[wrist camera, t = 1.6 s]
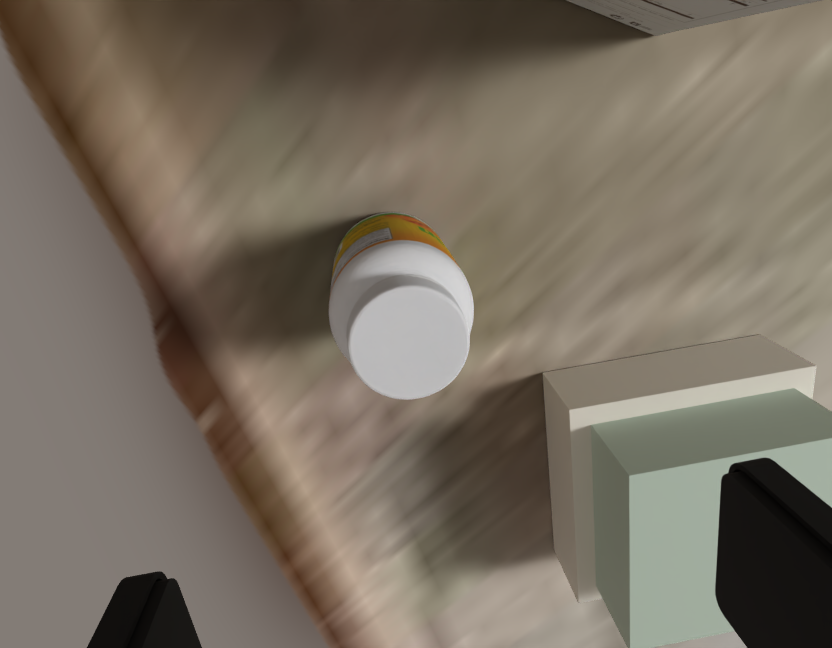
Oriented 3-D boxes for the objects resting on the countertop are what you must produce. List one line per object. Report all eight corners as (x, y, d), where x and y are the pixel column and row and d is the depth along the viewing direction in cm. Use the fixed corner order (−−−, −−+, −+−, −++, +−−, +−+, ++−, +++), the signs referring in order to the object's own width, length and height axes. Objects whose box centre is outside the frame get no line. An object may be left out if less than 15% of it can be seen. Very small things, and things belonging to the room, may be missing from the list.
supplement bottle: (466, 281, 28) (522, 364, 19) (375, 339, 29) (386, 447, 20) (407, 186, 26) (437, 229, 17) (310, 251, 27) (290, 325, 18)
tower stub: (542, 372, 30) (604, 459, 23) (760, 334, 31) (890, 407, 23) (554, 549, 35) (609, 671, 27) (744, 513, 35) (850, 622, 28)
